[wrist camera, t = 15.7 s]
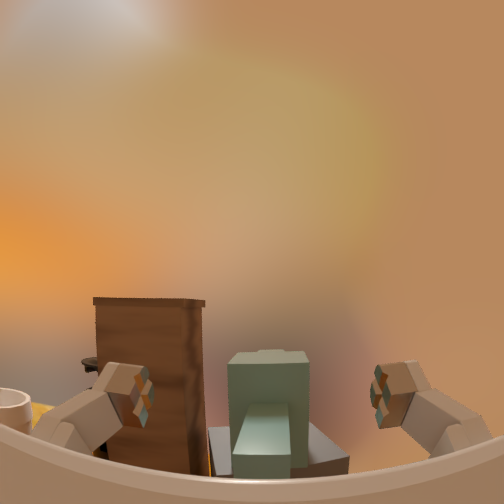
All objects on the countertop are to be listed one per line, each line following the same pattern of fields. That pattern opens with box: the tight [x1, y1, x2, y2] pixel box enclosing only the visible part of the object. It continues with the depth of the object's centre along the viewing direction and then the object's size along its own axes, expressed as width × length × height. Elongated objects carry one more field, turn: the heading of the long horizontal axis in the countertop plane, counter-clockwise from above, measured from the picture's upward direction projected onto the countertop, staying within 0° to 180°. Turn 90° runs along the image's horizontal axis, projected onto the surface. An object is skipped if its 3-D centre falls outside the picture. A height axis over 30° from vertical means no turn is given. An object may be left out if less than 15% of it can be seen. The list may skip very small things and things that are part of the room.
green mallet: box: [227, 349, 309, 479], centre depth 21 cm, size 17×6×9 cm, turn 175°
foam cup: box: [0, 388, 33, 435], centre depth 25 cm, size 10×9×13 cm
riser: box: [208, 422, 350, 479], centre depth 25 cm, size 11×11×12 cm
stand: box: [93, 297, 210, 477], centre depth 31 cm, size 9×10×26 cm
